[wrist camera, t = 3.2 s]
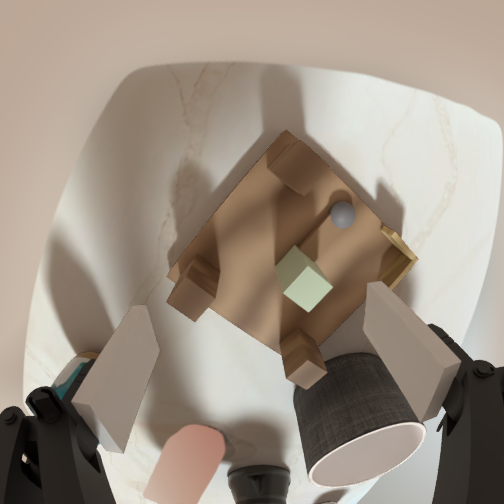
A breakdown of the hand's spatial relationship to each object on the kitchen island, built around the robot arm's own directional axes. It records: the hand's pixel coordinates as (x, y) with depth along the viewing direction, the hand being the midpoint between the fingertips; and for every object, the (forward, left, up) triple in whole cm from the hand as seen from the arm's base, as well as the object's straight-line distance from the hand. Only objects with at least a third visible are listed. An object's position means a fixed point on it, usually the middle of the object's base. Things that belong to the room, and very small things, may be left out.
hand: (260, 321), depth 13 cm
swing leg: (-7, -4, -20) cm, 21 cm away
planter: (-31, +12, -22) cm, 40 cm away
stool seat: (-7, 0, -22) cm, 23 cm away
